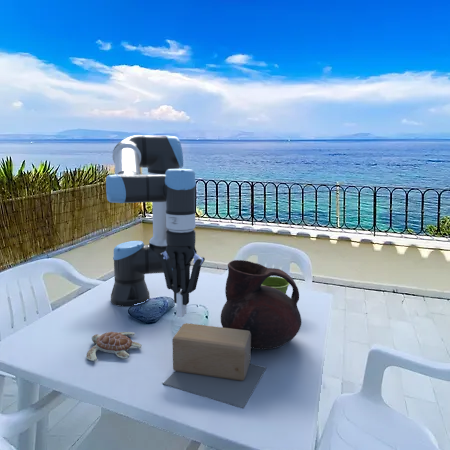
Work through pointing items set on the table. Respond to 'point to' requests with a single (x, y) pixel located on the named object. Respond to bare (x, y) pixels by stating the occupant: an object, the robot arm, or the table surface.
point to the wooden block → (212, 351)
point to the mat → (218, 385)
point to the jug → (260, 305)
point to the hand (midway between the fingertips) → (181, 314)
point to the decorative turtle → (112, 344)
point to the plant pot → (276, 283)
